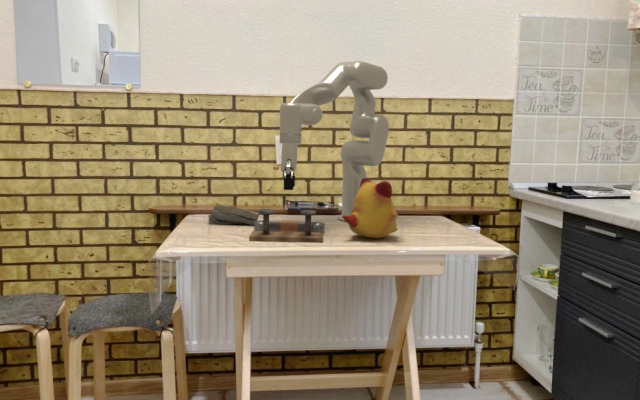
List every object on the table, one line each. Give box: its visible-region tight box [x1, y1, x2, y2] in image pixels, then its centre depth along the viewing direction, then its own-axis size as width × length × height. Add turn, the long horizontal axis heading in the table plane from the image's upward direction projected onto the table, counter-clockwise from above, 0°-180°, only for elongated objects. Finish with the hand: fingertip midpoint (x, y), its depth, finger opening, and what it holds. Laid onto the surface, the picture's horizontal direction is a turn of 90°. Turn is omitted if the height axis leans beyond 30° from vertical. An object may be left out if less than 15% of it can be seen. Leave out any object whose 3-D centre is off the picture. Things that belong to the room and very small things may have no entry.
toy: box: [342, 177, 399, 239], centre depth 194 cm, size 20×21×20 cm
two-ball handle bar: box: [253, 219, 326, 234], centre depth 204 cm, size 25×5×4 cm, turn 89°
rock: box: [207, 204, 260, 226], centre depth 217 cm, size 11×18×10 cm, turn 88°
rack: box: [248, 208, 324, 243], centre depth 191 cm, size 24×9×10 cm, turn 89°
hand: (289, 188), depth 202 cm, fingers open, 9 cm apart
